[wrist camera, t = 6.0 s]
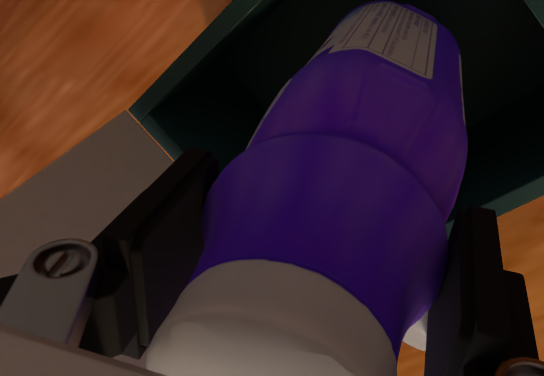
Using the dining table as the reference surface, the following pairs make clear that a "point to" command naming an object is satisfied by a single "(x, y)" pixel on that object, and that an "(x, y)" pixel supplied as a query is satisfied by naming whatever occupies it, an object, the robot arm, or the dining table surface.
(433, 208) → the bottle
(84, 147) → the cooler lid
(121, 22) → the dining table surface
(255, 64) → the dark green open box
